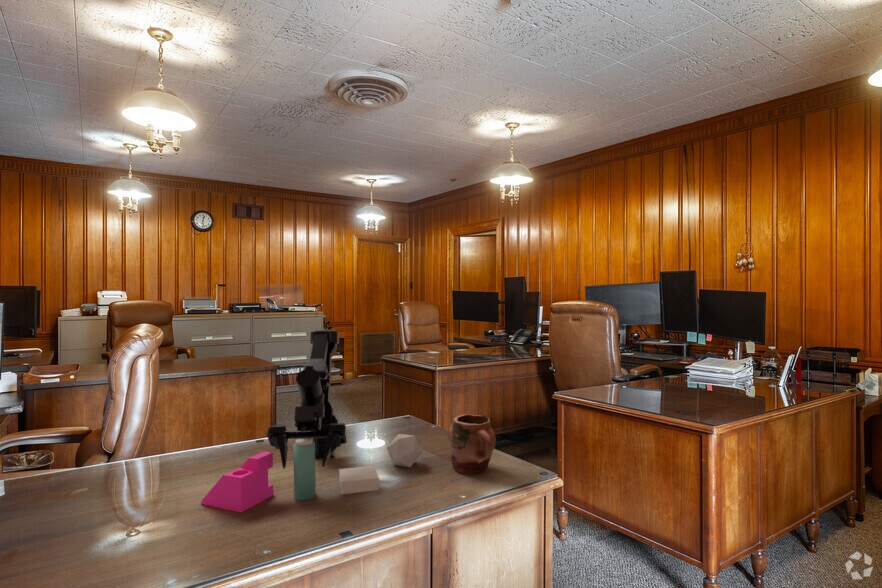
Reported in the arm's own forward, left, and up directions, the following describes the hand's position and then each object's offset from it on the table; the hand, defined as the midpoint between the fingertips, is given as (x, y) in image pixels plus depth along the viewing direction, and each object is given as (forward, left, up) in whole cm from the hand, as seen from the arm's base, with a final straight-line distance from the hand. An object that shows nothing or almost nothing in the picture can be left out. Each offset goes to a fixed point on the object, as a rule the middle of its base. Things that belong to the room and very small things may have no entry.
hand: (303, 467), depth 119 cm
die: (-16, +27, -8) cm, 32 cm away
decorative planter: (-6, +44, -8) cm, 45 cm away
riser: (-4, +13, -7) cm, 16 cm away
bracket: (-4, -15, -8) cm, 17 cm away
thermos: (-1, 0, -7) cm, 7 cm away
